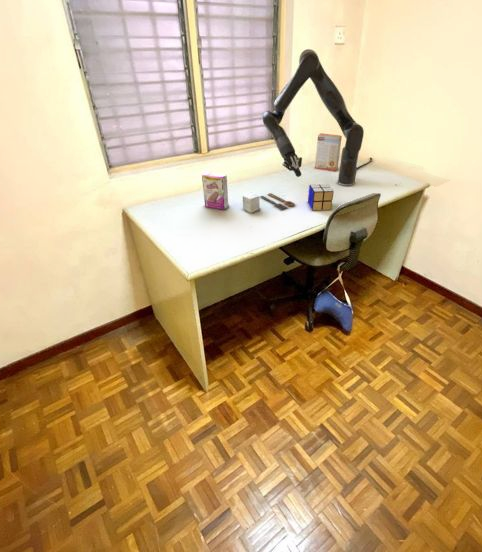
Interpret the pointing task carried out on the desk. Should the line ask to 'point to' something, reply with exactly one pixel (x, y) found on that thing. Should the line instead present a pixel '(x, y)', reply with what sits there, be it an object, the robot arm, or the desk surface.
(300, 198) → the desk surface
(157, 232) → the desk surface
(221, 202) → the candy bar box
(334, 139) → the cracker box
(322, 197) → the puzzle cube
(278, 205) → the salad fork
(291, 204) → the salad spoon
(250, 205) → the product box
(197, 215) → the desk surface
